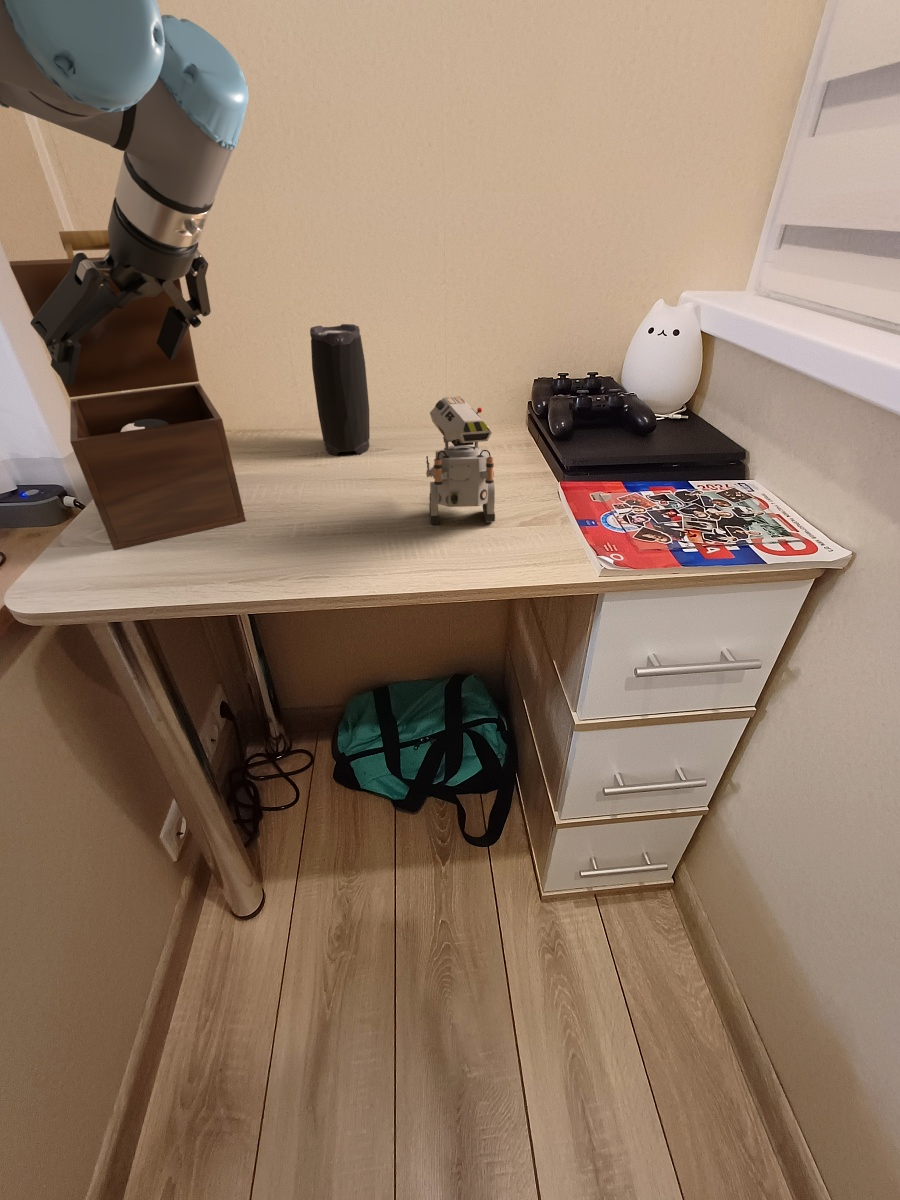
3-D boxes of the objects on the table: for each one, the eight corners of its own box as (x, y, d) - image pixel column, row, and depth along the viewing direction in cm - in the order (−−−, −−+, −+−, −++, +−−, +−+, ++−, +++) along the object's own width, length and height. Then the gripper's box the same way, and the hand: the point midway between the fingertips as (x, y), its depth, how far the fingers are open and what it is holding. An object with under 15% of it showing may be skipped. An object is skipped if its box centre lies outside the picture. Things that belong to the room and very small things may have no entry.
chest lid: (175, 258, 67) (158, 212, 70) (9, 265, 61) (-2, 215, 64) (199, 381, 83) (184, 340, 86) (69, 397, 76) (57, 352, 80)
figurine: (486, 492, 87) (490, 392, 78) (496, 529, 78) (502, 420, 69) (426, 494, 86) (424, 393, 77) (429, 531, 77) (426, 421, 68)
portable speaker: (366, 436, 105) (356, 320, 94) (376, 455, 98) (367, 332, 87) (319, 441, 103) (304, 323, 92) (326, 461, 96) (310, 336, 85)
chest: (246, 521, 79) (222, 418, 71) (113, 550, 73) (70, 441, 64) (222, 474, 92) (199, 382, 83) (107, 496, 85) (70, 399, 77)
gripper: (54, 264, 47) (33, 415, 62) (279, 243, 64) (219, 365, 79) (-9, 183, 46) (-15, 356, 61) (236, 184, 63) (183, 319, 78)
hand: (117, 362), depth 70 cm, fingers open, 13 cm apart
